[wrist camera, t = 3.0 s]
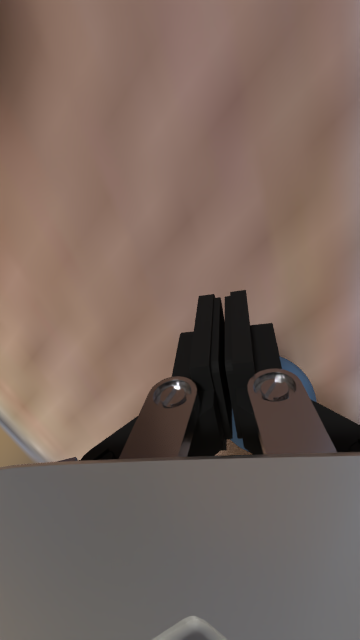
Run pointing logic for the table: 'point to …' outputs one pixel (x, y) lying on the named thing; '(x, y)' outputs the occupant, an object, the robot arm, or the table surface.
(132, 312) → the table surface
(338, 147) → the table surface
